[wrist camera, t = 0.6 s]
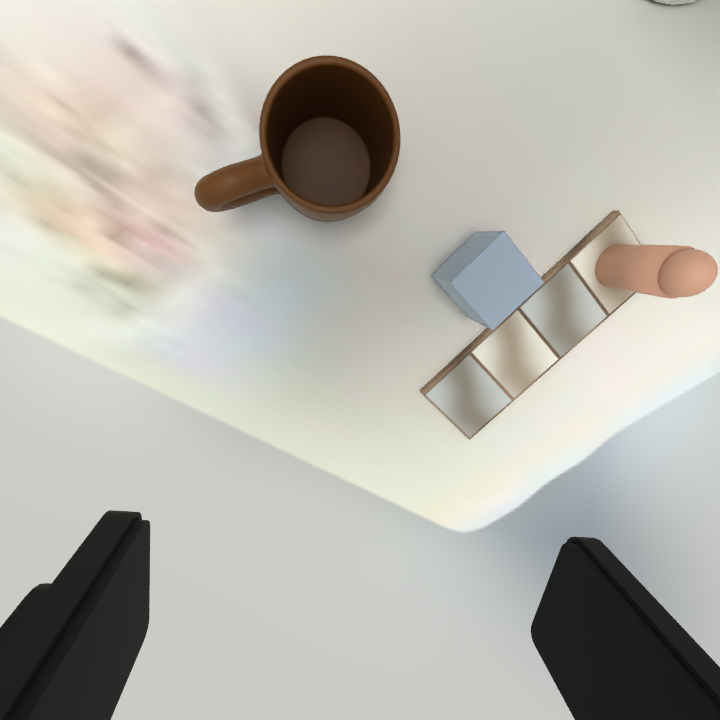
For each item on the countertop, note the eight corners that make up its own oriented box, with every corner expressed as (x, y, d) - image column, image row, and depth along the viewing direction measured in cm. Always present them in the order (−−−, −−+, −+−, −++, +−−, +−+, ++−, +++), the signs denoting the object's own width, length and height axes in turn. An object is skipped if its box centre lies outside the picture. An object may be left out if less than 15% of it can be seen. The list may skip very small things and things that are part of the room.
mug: (247, 258, 30) (218, 267, 21) (199, 156, 28) (145, 118, 19) (390, 201, 30) (422, 186, 21) (355, 93, 28) (374, 25, 19)
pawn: (621, 234, 32) (719, 234, 24) (642, 266, 33) (743, 275, 25) (587, 266, 32) (672, 275, 25) (608, 296, 34) (697, 314, 26)
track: (613, 210, 32) (620, 210, 31) (653, 271, 34) (660, 272, 33) (420, 390, 35) (422, 394, 34) (467, 436, 37) (470, 440, 36)
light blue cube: (475, 231, 32) (504, 230, 27) (511, 275, 33) (544, 282, 28) (430, 275, 32) (450, 282, 27) (467, 317, 34) (492, 330, 29)
